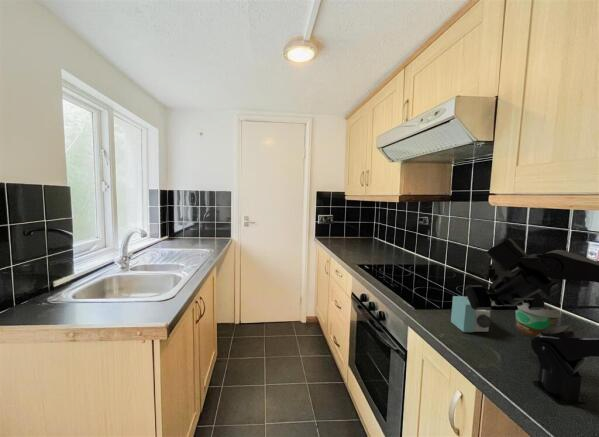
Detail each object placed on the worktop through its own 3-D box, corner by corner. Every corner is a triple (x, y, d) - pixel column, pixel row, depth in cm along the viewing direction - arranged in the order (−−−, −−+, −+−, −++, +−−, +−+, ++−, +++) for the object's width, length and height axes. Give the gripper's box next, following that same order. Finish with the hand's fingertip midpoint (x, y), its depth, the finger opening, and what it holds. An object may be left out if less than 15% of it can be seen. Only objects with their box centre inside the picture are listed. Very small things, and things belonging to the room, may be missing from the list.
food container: (502, 326, 93) (505, 297, 92) (513, 323, 95) (516, 295, 94) (545, 345, 82) (548, 313, 81) (557, 341, 84) (561, 310, 83)
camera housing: (490, 333, 88) (492, 310, 87) (474, 333, 88) (476, 310, 87) (465, 314, 101) (466, 295, 100) (451, 314, 101) (453, 294, 100)
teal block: (474, 332, 88) (476, 304, 87) (463, 332, 88) (465, 304, 87) (460, 321, 95) (462, 296, 94) (450, 321, 95) (452, 296, 94)
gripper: (539, 257, 73) (503, 283, 85) (471, 257, 73) (445, 283, 85) (565, 297, 66) (522, 319, 78) (490, 297, 66) (458, 319, 78)
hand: (486, 308), depth 80 cm, fingers closed
